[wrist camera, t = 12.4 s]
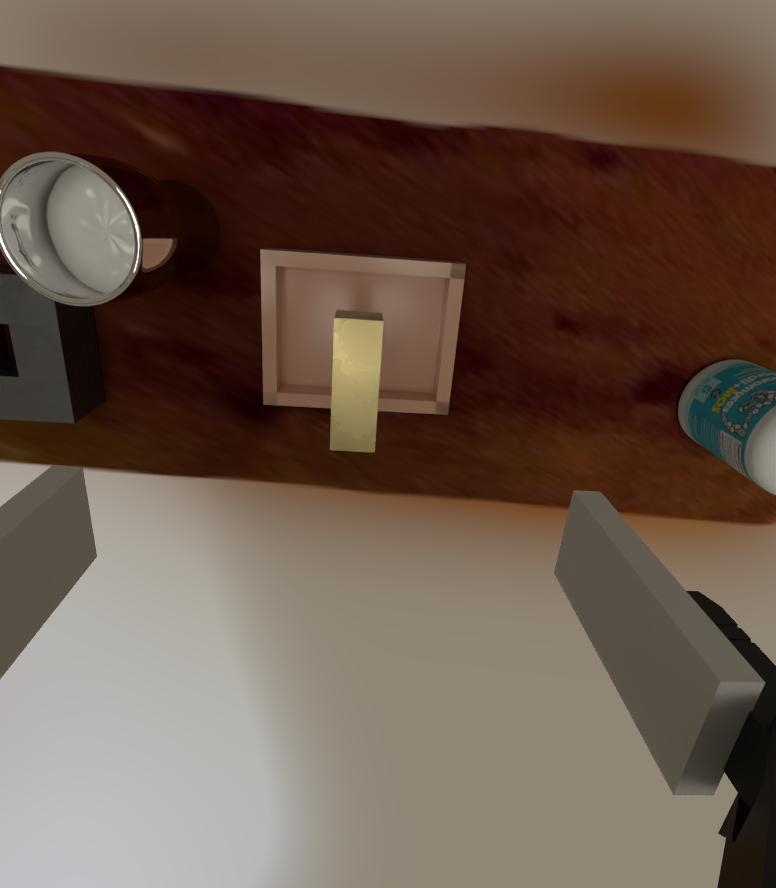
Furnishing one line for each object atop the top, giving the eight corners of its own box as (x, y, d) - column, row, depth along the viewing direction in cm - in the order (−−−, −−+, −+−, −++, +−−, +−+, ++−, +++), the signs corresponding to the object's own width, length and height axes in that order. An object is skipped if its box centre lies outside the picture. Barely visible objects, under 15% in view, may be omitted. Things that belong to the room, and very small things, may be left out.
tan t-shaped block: (346, 283, 39) (334, 317, 26) (378, 285, 39) (383, 321, 26) (342, 376, 42) (329, 450, 29) (372, 377, 42) (374, 452, 29)
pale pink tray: (270, 392, 43) (263, 404, 40) (267, 247, 39) (260, 249, 36) (442, 402, 44) (447, 414, 41) (459, 261, 40) (466, 264, 37)
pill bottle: (753, 341, 43) (911, 391, 30) (770, 419, 46) (921, 494, 33) (662, 381, 44) (780, 446, 31) (684, 455, 47) (799, 541, 34)
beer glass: (224, 178, 37) (139, 155, 23) (226, 283, 40) (152, 317, 26) (120, 167, 36) (-30, 136, 23) (130, 274, 39) (0, 304, 25)
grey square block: (-25, 394, 42) (-73, 415, 38) (-57, 260, 38) (-115, 266, 34) (105, 401, 43) (74, 423, 38) (87, 270, 39) (50, 277, 34)
